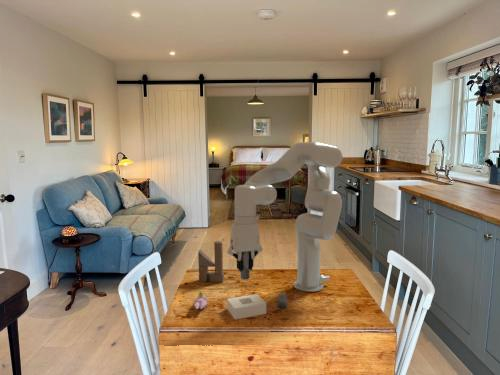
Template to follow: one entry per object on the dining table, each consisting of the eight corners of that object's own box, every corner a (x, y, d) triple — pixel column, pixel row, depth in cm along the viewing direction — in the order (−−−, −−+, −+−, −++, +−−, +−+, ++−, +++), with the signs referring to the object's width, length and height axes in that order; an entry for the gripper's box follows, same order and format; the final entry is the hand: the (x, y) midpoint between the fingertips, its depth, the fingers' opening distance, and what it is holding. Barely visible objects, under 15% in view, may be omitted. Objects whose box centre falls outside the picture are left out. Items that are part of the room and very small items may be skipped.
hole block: (256, 303, 145) (256, 293, 144) (266, 313, 136) (266, 303, 136) (227, 309, 141) (226, 298, 140) (234, 319, 132) (234, 308, 132)
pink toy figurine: (194, 303, 149) (190, 314, 134) (194, 287, 150) (190, 297, 135) (210, 302, 150) (207, 313, 135) (209, 287, 150) (207, 296, 135)
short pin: (284, 304, 144) (284, 293, 143) (288, 308, 141) (288, 296, 140) (276, 305, 143) (276, 294, 142) (280, 309, 140) (280, 297, 139)
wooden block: (200, 279, 171) (199, 240, 169) (224, 279, 171) (223, 240, 168) (198, 282, 168) (197, 242, 166) (222, 282, 167) (222, 243, 165)
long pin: (247, 275, 139) (247, 246, 137) (250, 278, 136) (250, 248, 134) (239, 276, 138) (239, 247, 136) (242, 279, 135) (242, 249, 133)
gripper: (262, 216, 141) (262, 264, 143) (220, 219, 135) (220, 269, 137) (270, 220, 134) (270, 270, 136) (226, 223, 128) (226, 275, 130)
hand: (245, 269), depth 136 cm, fingers closed on long pin, 3 cm apart
